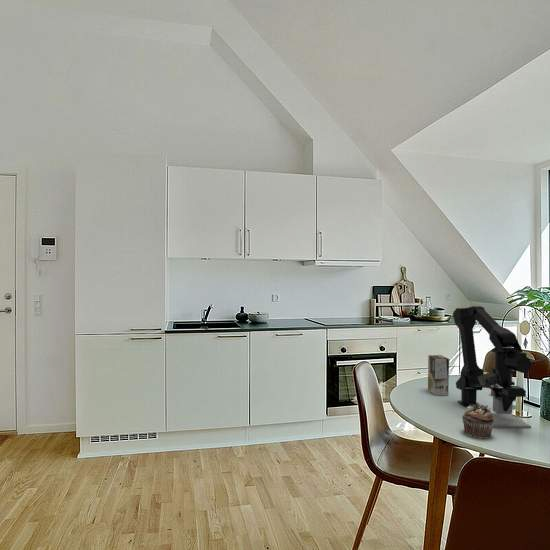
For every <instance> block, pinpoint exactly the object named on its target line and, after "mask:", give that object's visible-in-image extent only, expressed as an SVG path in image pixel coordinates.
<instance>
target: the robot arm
mask: <svg viewBox="0 0 550 550" xmlns="http://www.w3.org/2000/svg"><path fill="white" fill-rule="evenodd" d="M452 316H453V317H452V318H453V320H454V325H455V326H456V327H457V328H458V329H459V334H460V343H461V344H460V345H461V352H462V360H463V361H462V362H463V366H462V368H461V370H460V377H459V378H458V380H456V382H455V386H456V389H457V390H461V393H460V395H461V397H460V398H461V400H457V403H459V404H461V405H462V406H463V407H469V405H471V404H476V403H477V399H478V398H477V396H478V395H477V391H482V390H483V388H484V389H487V388H488V389H490V391H491V390H492V391H493V393H494V396H495V397H502V400H503V409H504V411H508V409H509V408H510V406H511V404H512V403H513V404H514V401H515V400H516V398H518V397H519V398H524V397H526V395H527V390H525V388H523V387H522V386H519V385H516V384H515V381H513V375H514V374H516V372H519V373H521V374H527V373H528V372H529V371H531V368H532V365H533V364H532V361H531V359H530V358H529V357H527V353H526V352H524V351H523V350H522V347H521V345H520V342H519V340H518V339H517V336H516V334H515V333H514V332H513V331H511V330H510V329H508V328H505V327H503V326H501V325H500V324H499V323H498V322H497V321H496V320H495V319H494V318H493V317H492V316H491V315H490V314H489V313H488V312H487V311H486V309H485V307H483V306H481V305H473V306H472V305H471V306H468V307H464V308H463V307H462V308H460V307H456V308H455V310H454V311H453V313H452ZM476 323H478V324H479V325H480V326H481V327H482V328H483V330H485V331H486V332H487V334H488V339H489V341H490V342H491V344H492V345H493V347H494V348H492V349H491V352H492V353H494V367H491V370H490V372H488V373H486V374H484V372H485V371H484V369H483V368H480V367H479V365H478V362H477V361H478V359H477V353H476V346H475V336H474V327H475V325H476ZM483 386H484V387H483ZM494 396H493V397H494Z"/></svg>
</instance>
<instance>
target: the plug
mask: <svg viewBox="0 0 550 550" xmlns="http://www.w3.org/2000/svg"><path fill="white" fill-rule="evenodd" d="M515 410H517V404H515V403H514V402H513V403H512V404H511V406H510V408H509V409H508V411H504V409H503V400H502V397H494V396H492V411H493V412H494V413H497V414H512V415H513V411H515Z"/></svg>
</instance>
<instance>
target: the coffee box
mask: <svg viewBox="0 0 550 550" xmlns="http://www.w3.org/2000/svg"><path fill="white" fill-rule="evenodd" d="M427 357H428V359H427V390H428V391H429V392H430V393H432V394H433V396H449V385H450V384H449V383H450V382H449V378H450V377H449V376H450V359H449V358H448V357H446V356H444V355H442V354H441V355H440V354H438V355H437V354H433V355H432V354H431V355H428V356H427Z"/></svg>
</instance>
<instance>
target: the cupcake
mask: <svg viewBox="0 0 550 550" xmlns="http://www.w3.org/2000/svg"><path fill="white" fill-rule="evenodd" d="M491 413H492V412H491V407H490V406H488V405H484V404H483V405H481V404H480V403H479V402H476V404H471V405H469V406H466V409H465V411H464V414H463V415H462V416H461V418H462V422H463V430H464V433H465V434H466V433H467V434H469V435H472V436H471V437H473V436H476V437H475V438H477V437H483V438H482V439H488V438H490V437H491V435H492V432H493V428H494V427H493V424H494V421H493V415H492V414H491ZM467 434H466V435H467ZM469 435H468V436H469ZM484 437H486V438H484ZM487 437H488V438H487Z"/></svg>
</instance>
